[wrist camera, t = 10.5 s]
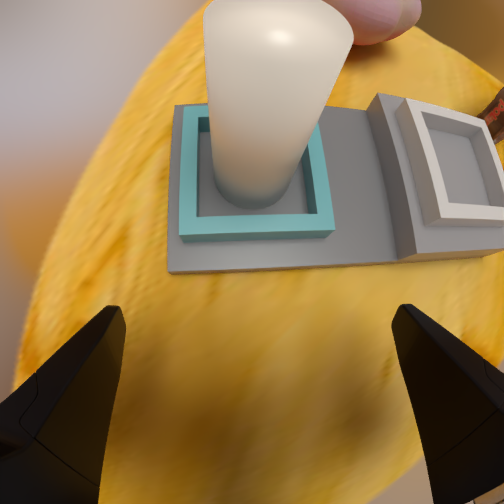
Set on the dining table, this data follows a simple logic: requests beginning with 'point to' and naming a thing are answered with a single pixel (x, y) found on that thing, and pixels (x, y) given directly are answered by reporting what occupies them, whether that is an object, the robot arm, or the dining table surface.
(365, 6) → the decorative fruit
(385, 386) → the dining table surface
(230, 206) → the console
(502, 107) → the tin
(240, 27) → the white rounded cylinder
